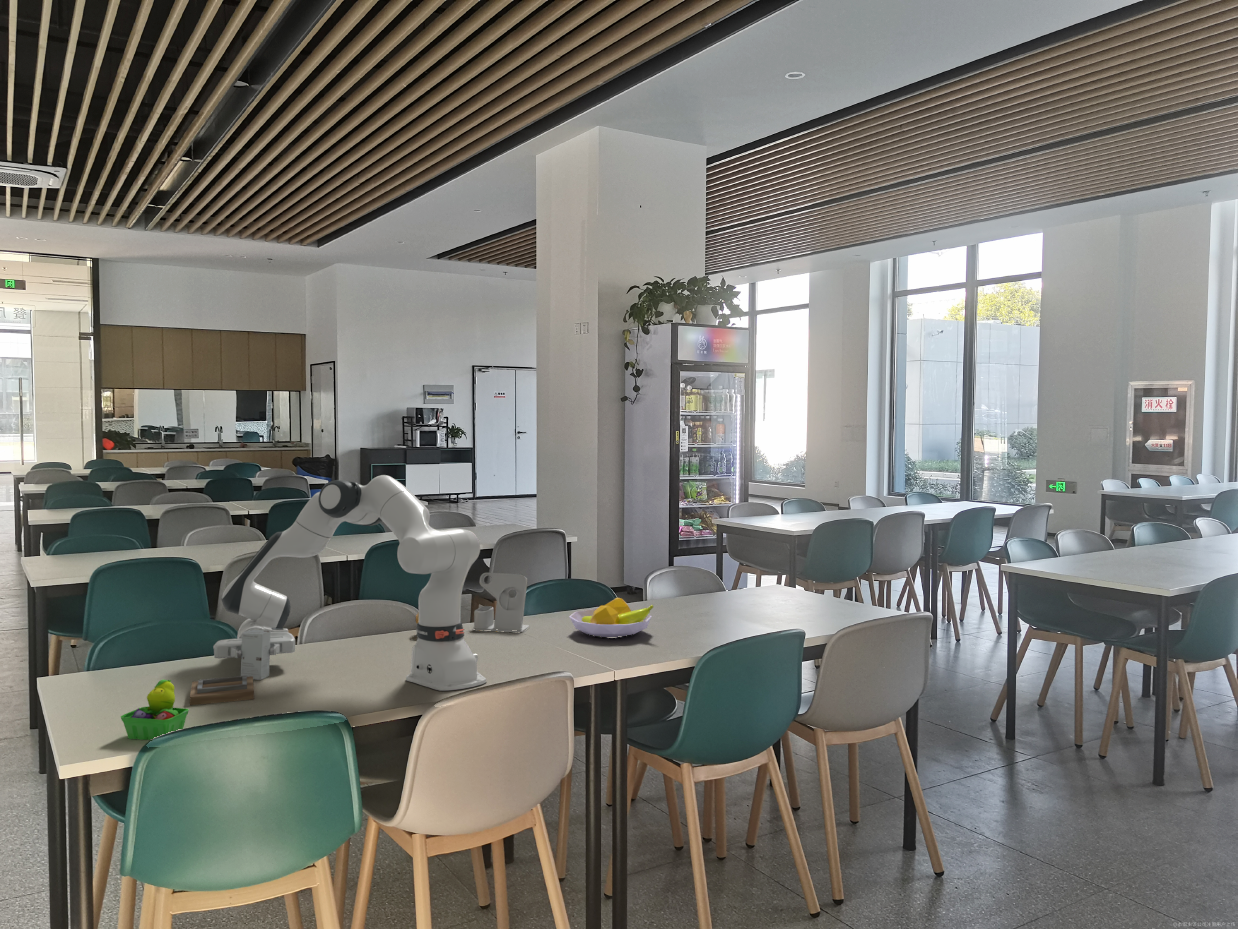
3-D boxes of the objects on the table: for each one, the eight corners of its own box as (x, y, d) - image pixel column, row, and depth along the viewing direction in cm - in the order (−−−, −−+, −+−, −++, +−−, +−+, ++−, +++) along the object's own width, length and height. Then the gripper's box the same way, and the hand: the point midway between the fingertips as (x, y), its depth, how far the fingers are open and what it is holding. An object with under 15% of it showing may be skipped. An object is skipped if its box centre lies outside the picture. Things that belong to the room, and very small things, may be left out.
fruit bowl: (553, 632, 293) (553, 598, 293) (615, 622, 311) (615, 589, 311) (609, 649, 272) (609, 612, 272) (672, 636, 290) (672, 601, 290)
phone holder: (470, 630, 295) (471, 576, 294) (481, 624, 305) (482, 571, 304) (521, 633, 291) (521, 578, 290) (530, 627, 301) (531, 573, 300)
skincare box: (239, 679, 234) (239, 633, 234) (249, 674, 239) (249, 629, 238) (261, 680, 233) (261, 634, 233) (271, 675, 238) (271, 630, 237)
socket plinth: (253, 699, 217) (253, 687, 217) (189, 705, 211) (189, 692, 211) (252, 684, 230) (252, 672, 230) (192, 689, 224) (192, 677, 224)
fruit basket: (118, 740, 187) (117, 687, 187) (146, 727, 196) (146, 676, 196) (167, 744, 185) (167, 690, 185) (194, 730, 194) (194, 678, 194)
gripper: (213, 633, 243) (212, 644, 231) (293, 627, 251) (296, 638, 239) (213, 656, 244) (212, 669, 231) (293, 650, 252) (296, 662, 239)
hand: (255, 653), depth 235 cm, fingers closed on skincare box, 7 cm apart
